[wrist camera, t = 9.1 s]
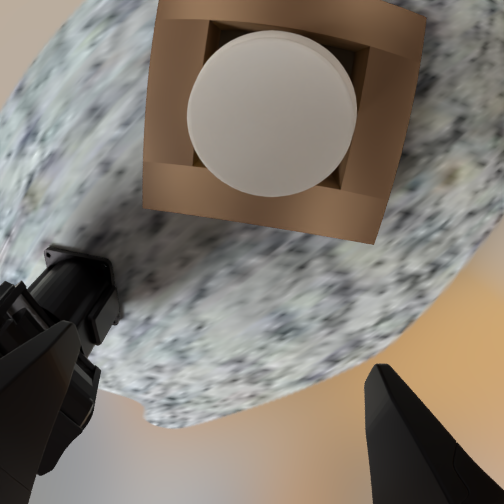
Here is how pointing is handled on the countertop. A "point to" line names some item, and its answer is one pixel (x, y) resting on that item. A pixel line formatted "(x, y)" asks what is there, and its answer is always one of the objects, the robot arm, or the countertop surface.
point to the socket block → (367, 98)
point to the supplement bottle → (272, 113)
